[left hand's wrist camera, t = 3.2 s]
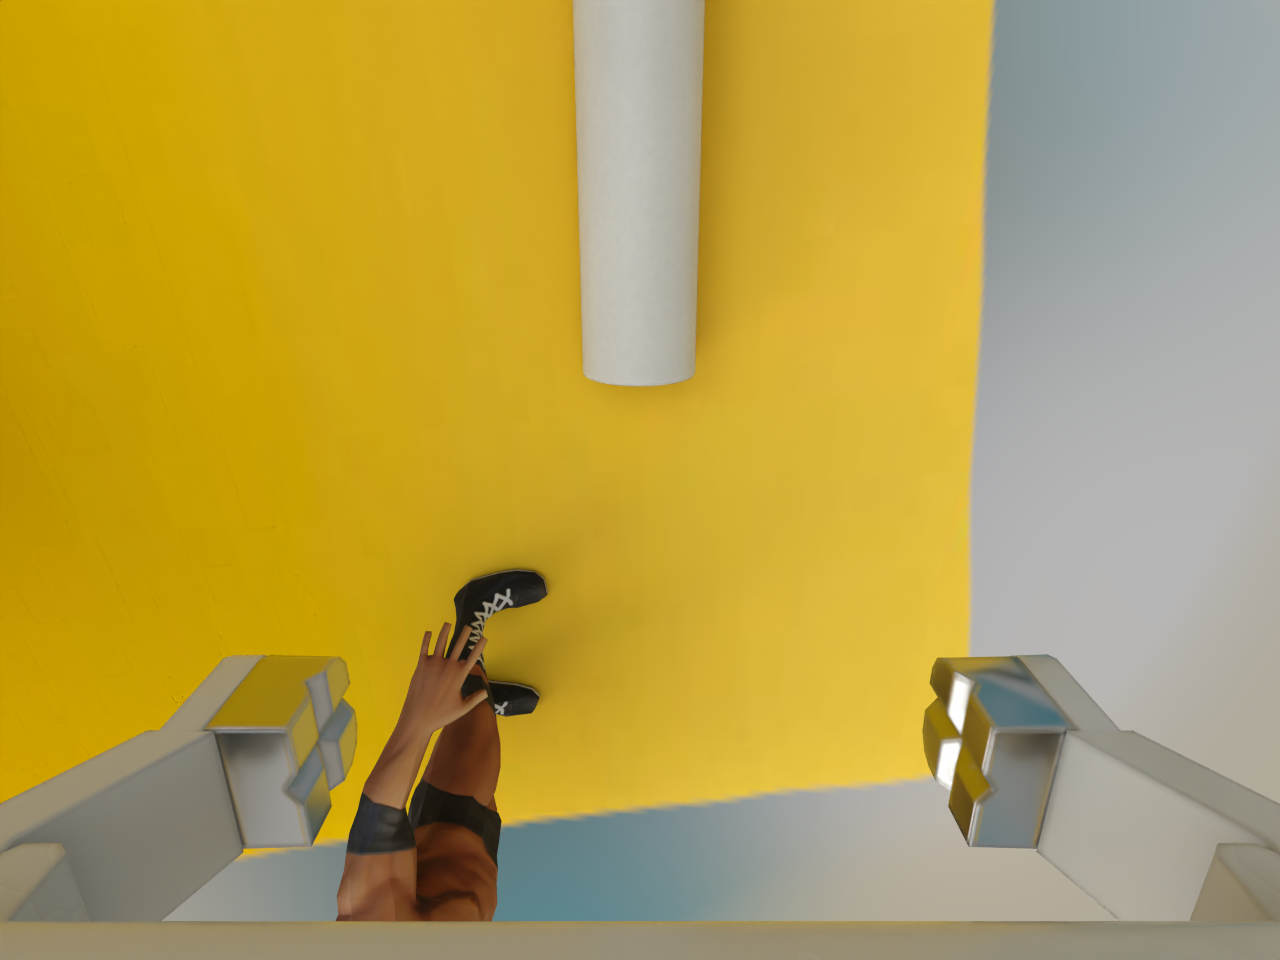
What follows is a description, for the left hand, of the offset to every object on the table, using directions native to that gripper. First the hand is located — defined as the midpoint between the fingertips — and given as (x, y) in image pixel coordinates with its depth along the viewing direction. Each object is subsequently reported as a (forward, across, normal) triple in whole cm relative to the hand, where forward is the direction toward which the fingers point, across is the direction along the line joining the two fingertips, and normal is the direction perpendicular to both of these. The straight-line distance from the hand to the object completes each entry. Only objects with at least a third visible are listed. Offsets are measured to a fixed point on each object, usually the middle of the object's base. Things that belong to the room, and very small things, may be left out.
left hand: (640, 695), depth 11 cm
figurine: (+36, +10, +23) cm, 44 cm away
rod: (+36, 0, -10) cm, 38 cm away
